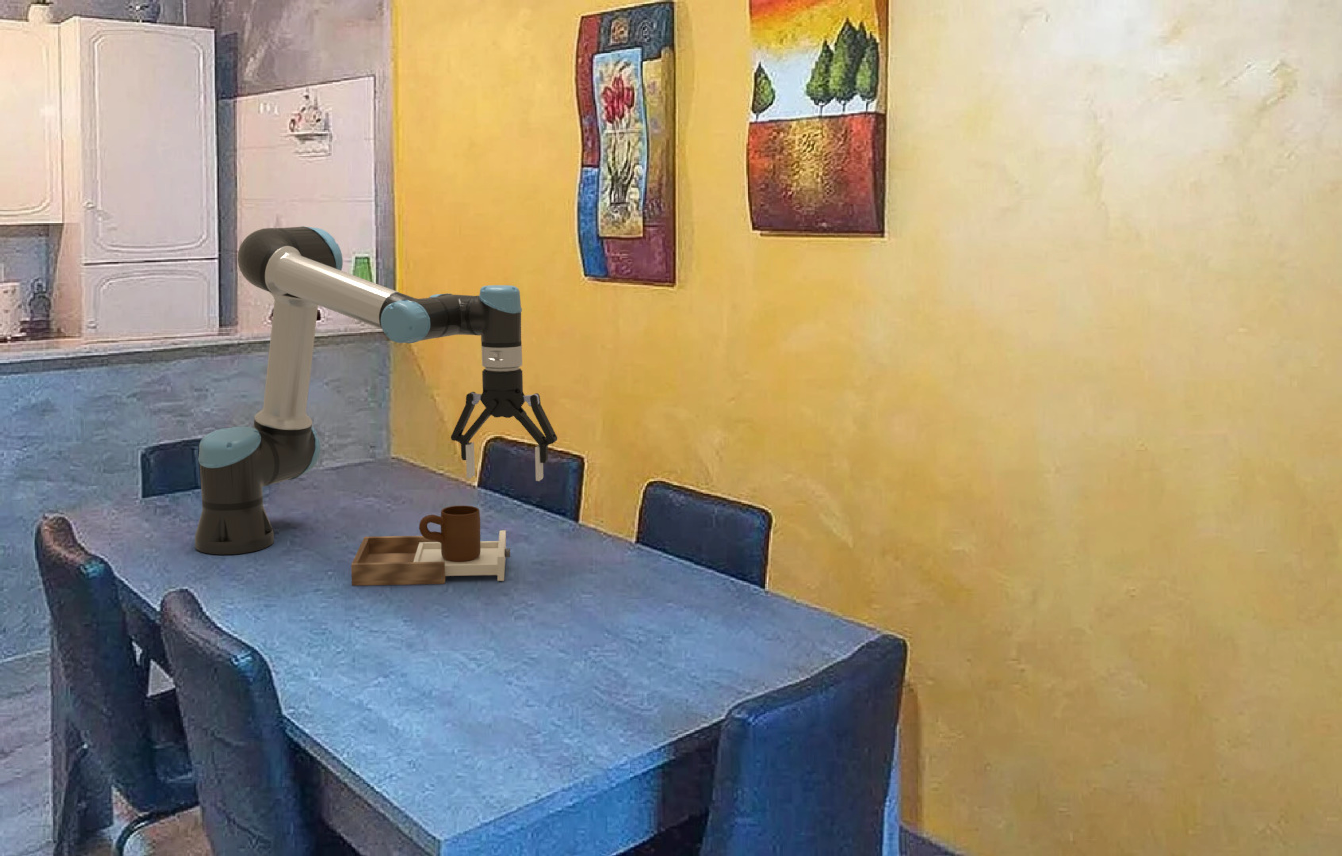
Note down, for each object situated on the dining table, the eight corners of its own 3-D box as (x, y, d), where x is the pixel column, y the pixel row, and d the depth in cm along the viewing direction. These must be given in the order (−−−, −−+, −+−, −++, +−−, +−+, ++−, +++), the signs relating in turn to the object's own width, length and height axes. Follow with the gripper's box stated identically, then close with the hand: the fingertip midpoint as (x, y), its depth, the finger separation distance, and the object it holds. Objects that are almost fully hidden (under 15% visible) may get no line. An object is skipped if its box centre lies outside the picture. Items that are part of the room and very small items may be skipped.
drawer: (411, 582, 223) (411, 558, 222) (420, 553, 240) (419, 531, 239) (509, 580, 225) (509, 556, 224) (510, 552, 242) (510, 530, 242)
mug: (426, 567, 227) (425, 519, 225) (413, 557, 233) (412, 510, 231) (486, 559, 233) (485, 512, 231) (472, 549, 239) (472, 503, 237)
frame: (351, 585, 222) (351, 564, 221) (365, 555, 239) (364, 536, 239) (444, 583, 224) (444, 563, 223) (450, 554, 241) (450, 535, 241)
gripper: (431, 369, 224) (435, 480, 228) (562, 372, 220) (563, 484, 224) (445, 364, 231) (449, 471, 235) (571, 366, 228) (573, 475, 232)
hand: (505, 478), depth 230 cm, fingers open, 13 cm apart
